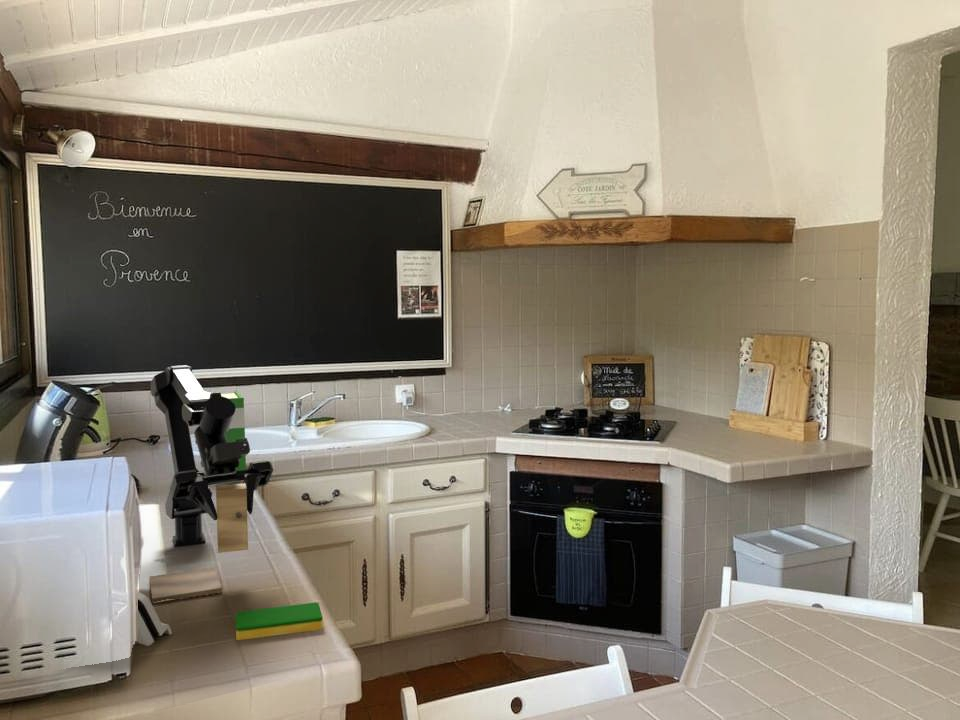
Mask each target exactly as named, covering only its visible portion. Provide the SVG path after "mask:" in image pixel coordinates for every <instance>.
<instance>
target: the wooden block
mask: <svg viewBox="0 0 960 720" xmlns="http://www.w3.org/2000/svg"><path fill="white" fill-rule="evenodd" d="M215 501H216V502H215V503H216V506H215V509H216V513H217V520H216V528H217V529H216V530H217V531H216V532H217V553H218V554H219V553H231V552H240V551H248V550H249V533H248V532H249V531H248V528H249V527H248V511H247V491H246V483H244V484H243V483H234V484H231V483H230V484H222V485H221V484H217V485H215Z"/></svg>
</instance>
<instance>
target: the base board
mask: <svg viewBox="0 0 960 720" xmlns="http://www.w3.org/2000/svg"><path fill="white" fill-rule="evenodd" d="M217 573H218V572H217V570H216V567H208V568H207V567H206V568H199V569H193V570H186V571H178V572H172V573H164V574H159V575H152V576H151V575H150V576H149V583H150V584H149V586H150V585H151V587H150V595H151V594H152V595H151V603H152V602H157V601H161V600H166V599H180V598H187V599H190V598H189V597H193V598H196V597H195V596H199V597H202V596H201V595H206V594H212V595H214V594H213V593H218V594H220V593H219V592H222V593H223V587H222V585H221V581H220V578H219V577H218V574H217ZM206 596H207V595H206ZM180 600H181V599H180Z"/></svg>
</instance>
